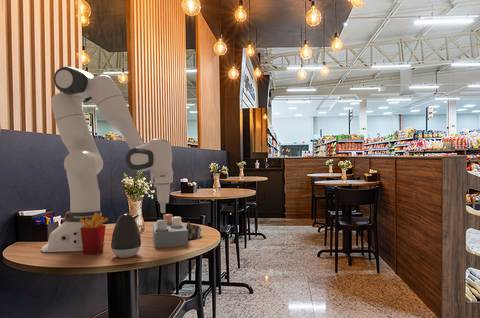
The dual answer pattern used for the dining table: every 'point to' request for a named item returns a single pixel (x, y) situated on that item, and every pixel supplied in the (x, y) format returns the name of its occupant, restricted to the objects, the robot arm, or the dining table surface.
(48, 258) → the dining table surface
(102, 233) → the french fries
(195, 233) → the chocolate cake
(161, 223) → the grey plunger
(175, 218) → the cream plunger
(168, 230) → the grey open box
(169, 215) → the terracotta plunger
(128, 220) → the dark grey egg shape
